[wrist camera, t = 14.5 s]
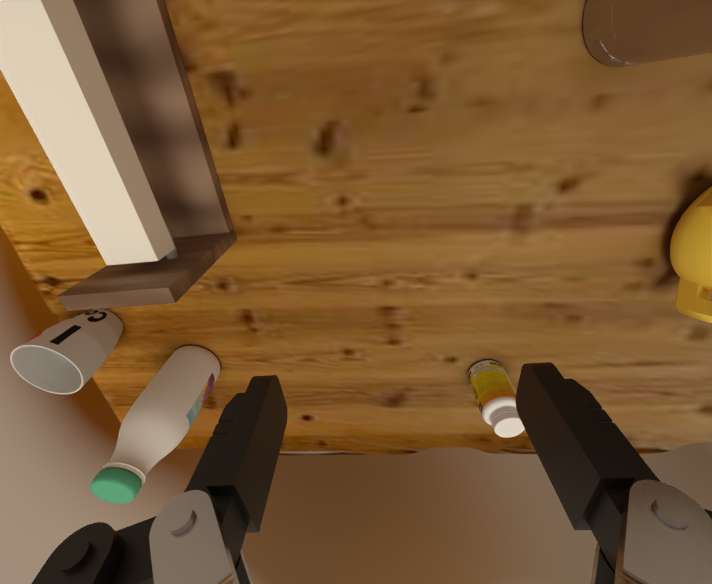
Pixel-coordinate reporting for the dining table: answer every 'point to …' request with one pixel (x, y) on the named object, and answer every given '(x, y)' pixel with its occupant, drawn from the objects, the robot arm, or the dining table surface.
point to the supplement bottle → (495, 397)
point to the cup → (68, 351)
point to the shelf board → (80, 127)
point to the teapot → (694, 258)
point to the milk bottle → (157, 422)
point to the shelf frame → (155, 155)
